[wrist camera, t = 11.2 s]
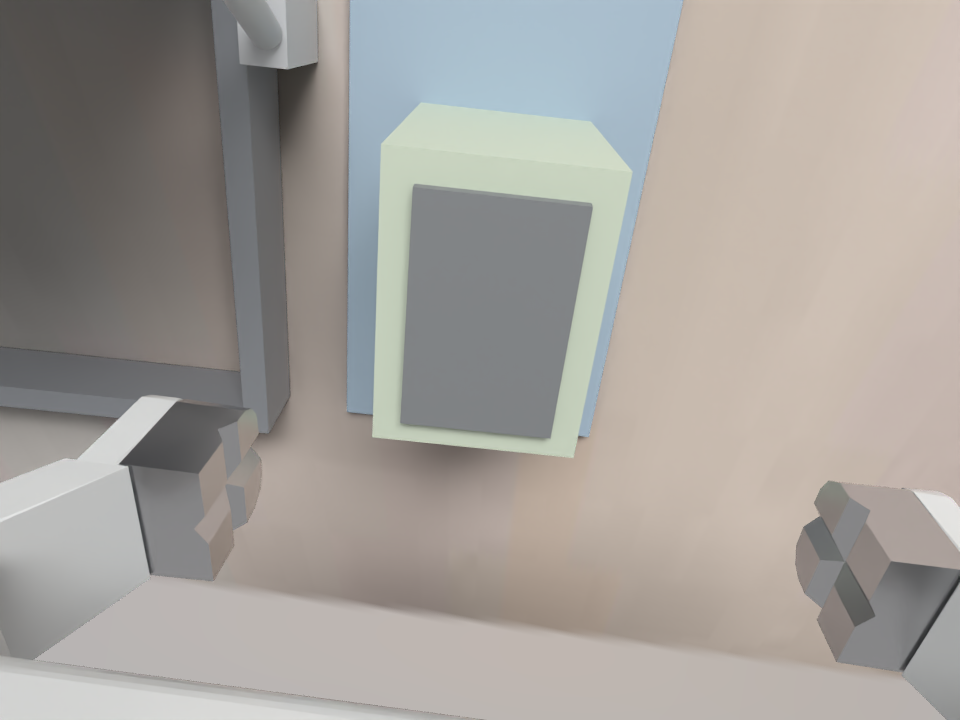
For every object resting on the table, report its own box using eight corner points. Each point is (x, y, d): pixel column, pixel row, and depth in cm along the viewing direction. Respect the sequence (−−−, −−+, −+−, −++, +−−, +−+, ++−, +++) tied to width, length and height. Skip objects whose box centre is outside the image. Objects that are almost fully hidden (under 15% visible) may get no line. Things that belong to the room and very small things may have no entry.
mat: (686, -30, 18) (689, -31, 17) (587, 430, 25) (588, 437, 24) (353, -69, 17) (350, -71, 17) (349, 405, 24) (346, 411, 24)
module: (591, 121, 19) (635, 175, 13) (554, 335, 22) (574, 465, 16) (420, 102, 19) (378, 146, 13) (408, 320, 22) (370, 444, 16)
